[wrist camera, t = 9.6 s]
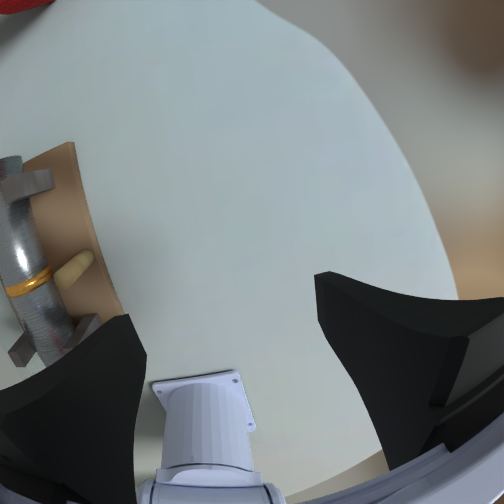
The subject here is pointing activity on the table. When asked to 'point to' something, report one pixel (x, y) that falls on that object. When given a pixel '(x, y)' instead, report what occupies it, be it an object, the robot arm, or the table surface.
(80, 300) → the collar stand
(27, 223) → the silver metal cylinder
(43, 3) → the strawberry
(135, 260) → the table surface
